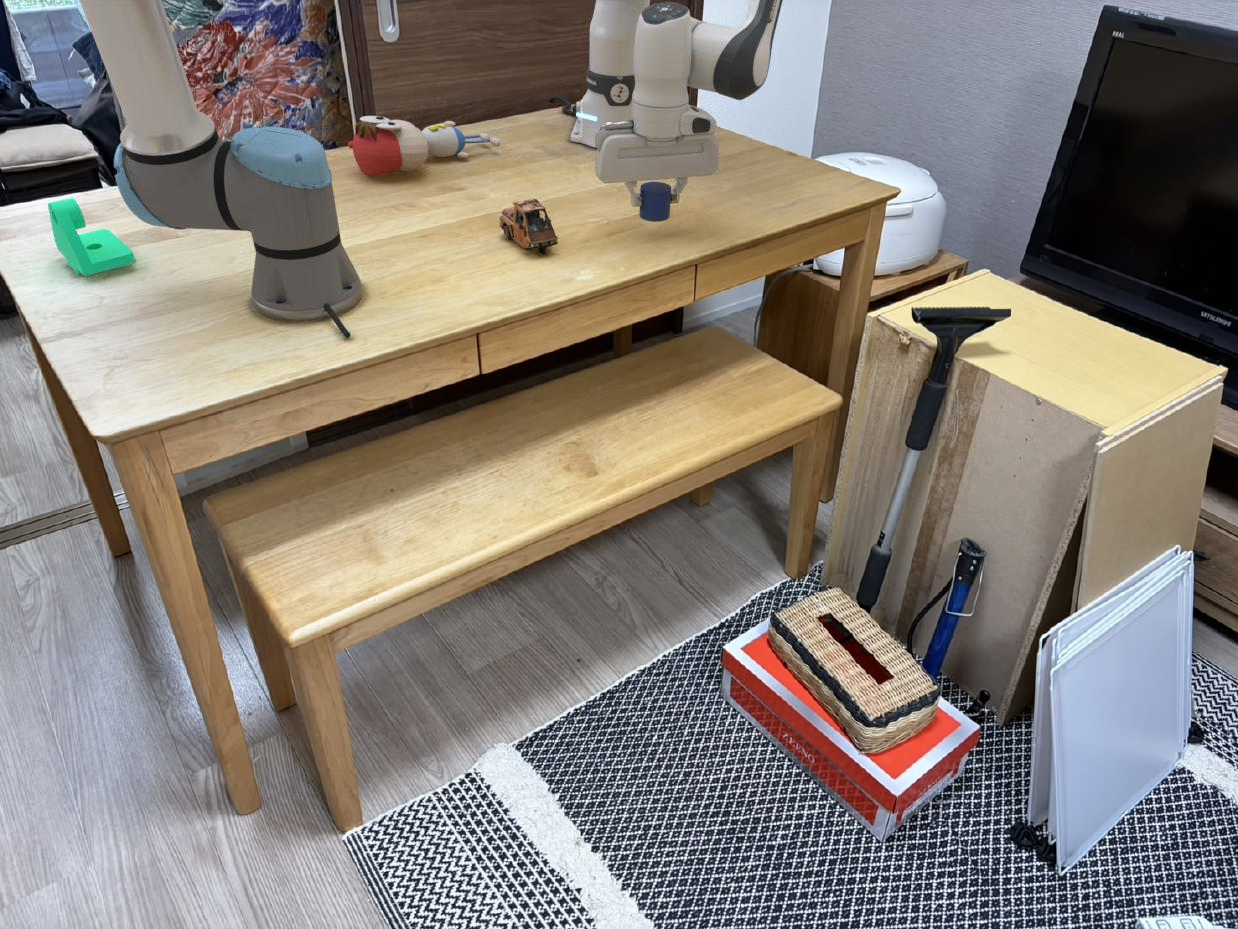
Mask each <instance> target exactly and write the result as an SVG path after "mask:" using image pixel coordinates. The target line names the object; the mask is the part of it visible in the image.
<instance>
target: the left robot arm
mask: <svg viewBox="0 0 1238 929" xmlns="http://www.w3.org/2000/svg"><path fill="white" fill-rule="evenodd" d="M78 1H79V3H80V6H81V8H82V11H83V13H84V16H85V18H86V21H87V23H88V26H89V29H90V31H91V35H92V36H93V39H94V42H95V45H96V47H97V50H98V52H99V55H100V57H101V59H102V63H103V65H104V67H105V70H106V72H107V75H108V77H109V80H110V83H111V85H112V88H113V91H114V93H115V96H116V98H117V101H118V103H119V106H120V109H121V111H122V114H123V116H124V119H125V122H126V125H125V126H124V128H123V129H122V131H121V133H120V136H119V139H120V143H119V144H118V146H117V147H116V150H115V153H114V157H113V168H114V169H115V170H116V172H117V174H114V178H115V183H116V185H117V189H118V192H119V194H120V196H121V198H122V200H123V201H124V204H125V205H126V206H127V208H128V209H129V210H130V211H131V213H132V214H133V215H134V216H136V218H137V219H139V220H140V221H142V222H144V223H145V224H148V225H150V226H154V227H161V228H163V227H164V228H169V229H173V230H187V229H189V230H190V229H192V230H193V229H195V230H214V231H215V230H220V231H243V232H249V233H250V234H251V237H252V238H251V239H252V242H253V247H254V251H255V258H254V264H253V273H252V283H251V291H250V293H251V299H252V303H253V307H254V309H255V310H256V311H257V313H259V314H260V315H262V316H264V317H266V318H268V319H271V320H275V321H281V322H289V323H304V322H314V321H315V322H316V321H320V320H326V319H330V318H331V320H332V321H333V322H334V324H335V326H336V327H337V328H338V330H339V331H340V332H341V333H342V335H343V336H344V337H345V338H347V339H349V338H350V337H351V336H352V334H351V333H350V332H349V330H348V329H347V328H346V326H345V325H344V323H343V322H342V321H341V319H340V318H339V316H338V315H341V314H343V313H345V312H348V311H349V310H351V309H353V308H354V307H355V306H356V305H357V304H358V303H359V302H360V301H361V298H362V297H363V287H362V282H361V278H360V276H359V274H358V272H357V270H356V268H355V266H354V264H353V263H352V261H351V259H350V257H349V255H348V253H347V251H346V250H345V248H344V245H343V243H342V239H341V233H340V225H339V219H338V213H337V206H336V200H335V196H334V195H335V194H334V187H333V174H332V171H331V169H330V166H329V162H328V158H327V152H326V150H325V148H324V146H323V145H322V144H321V143H320V142H319V140H317V139H315V138H314V137H313V136H311V135H310V134H308V133H306V132H303V131H300V130H297V129H294V128H293V129H292V128H289V127H282V126H280V127H279V126H263V127H255V126H254V127H249V128H248V127H247V128H244V129H241V130H238V131H237V132H235V133H234V134H233V135H232V137H231V139H230V140H221V139H220V137H219V133H218V131H217V127H216V123H215V122H214V119H212V117H210V116H209V115H207V114H206V113H203V112H202V111H200V110H198V108H197V104H196V101H195V98H194V96H193V92H192V89H191V86H190V83H189V80H188V77H187V73H186V71H185V67H184V64H183V62H182V58H181V55H180V53H179V49H178V47H177V43H176V39H175V38H174V33H173V30H172V29H171V25H170V22H169V19H168V16H167V13H166V10H165V7H164V3H163V0H78Z"/></svg>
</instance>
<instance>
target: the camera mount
mask: <svg viewBox="0 0 1238 929" xmlns="http://www.w3.org/2000/svg"><path fill="white" fill-rule="evenodd" d="M47 206H48V213H49V217H50V218H49V219H50V223H51V227H52V234H53V239H54V242H55V245H56V248H57V250H58V252H60V253H61V254H62V255H63V257H64V258H65V259H66V262H67V265H68V266H69V267H70V268H71V269H72V270H73V271H74V272H75V273H76V274H77V275H78V276H79V275H82V276H83V277H87V276H91V275H95V274H98V273H102V272H106V271H110V270H114V269H117V268H118V269H119V268H121V267H126V266H130V265H133V264H134V263H135V262H136V258H135V256H134V252H133V250H132V249H131V248H130V247H128V245H126V244H125V243H124V242H123V241H122V240H121V239H120V238H118V237H117V236H116V235H115V234H114V233H113V232H112V231H110V229H106V228H104V229H103V228H102V229H97V230H94V231H89V232H85V233H84V232H83V233H81V234H79V233H78V231H77V230H81V229H84V228H85V229H86V226H87V225H86V221H85V216H84V214H83V212H82V210H81V207H80V205H79V204H78V202H77V200H76V199H75V198H74V197H70V198H65V199H61V200H56V201H51V202H48V203H47Z"/></svg>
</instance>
